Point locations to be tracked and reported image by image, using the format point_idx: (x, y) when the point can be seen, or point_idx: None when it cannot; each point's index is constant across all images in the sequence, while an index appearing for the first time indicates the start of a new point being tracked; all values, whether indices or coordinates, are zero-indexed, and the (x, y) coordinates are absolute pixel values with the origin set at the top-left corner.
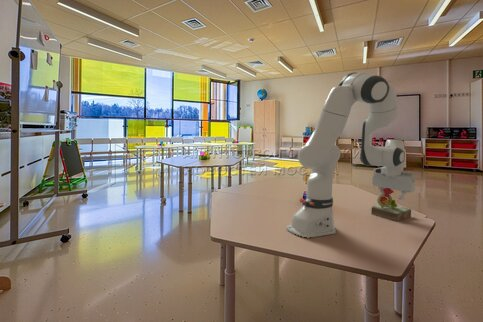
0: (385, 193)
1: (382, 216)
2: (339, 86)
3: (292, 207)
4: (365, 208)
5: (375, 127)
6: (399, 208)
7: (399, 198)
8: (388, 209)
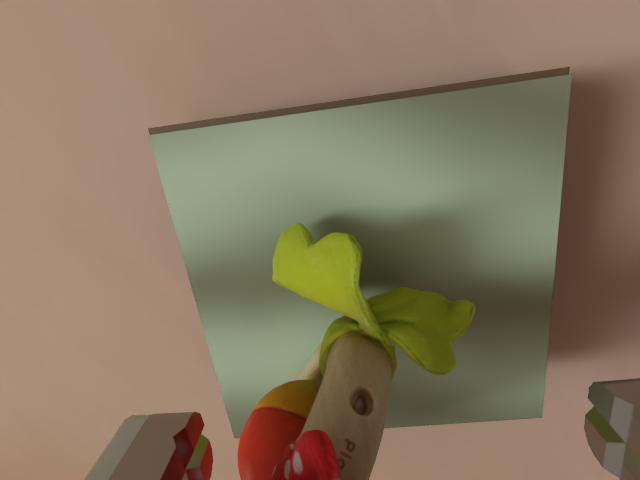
0: None
1: None
2: None
3: None
4: (72, 283)
5: None
6: (448, 215)
7: (614, 456)
8: (399, 378)
